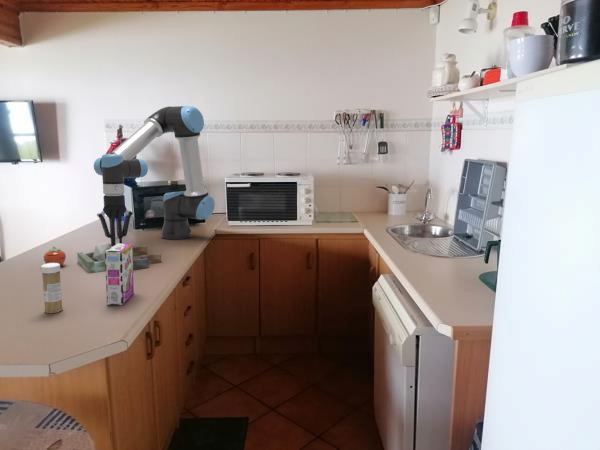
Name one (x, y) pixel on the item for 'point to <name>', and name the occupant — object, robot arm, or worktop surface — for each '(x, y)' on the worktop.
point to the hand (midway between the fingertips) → (117, 254)
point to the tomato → (55, 256)
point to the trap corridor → (91, 266)
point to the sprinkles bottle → (52, 287)
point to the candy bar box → (119, 273)
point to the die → (101, 251)
